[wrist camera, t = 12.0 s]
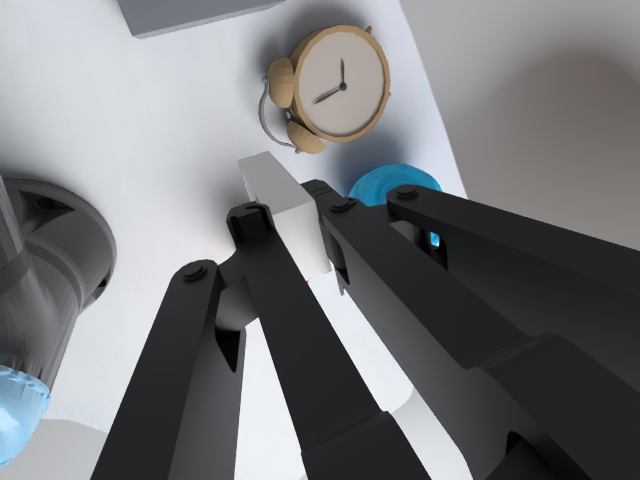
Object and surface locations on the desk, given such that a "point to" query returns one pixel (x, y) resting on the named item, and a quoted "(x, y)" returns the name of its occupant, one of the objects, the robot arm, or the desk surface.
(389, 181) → the sphere
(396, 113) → the desk surface
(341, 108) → the alarm clock
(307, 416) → the robot arm
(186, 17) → the camera body
